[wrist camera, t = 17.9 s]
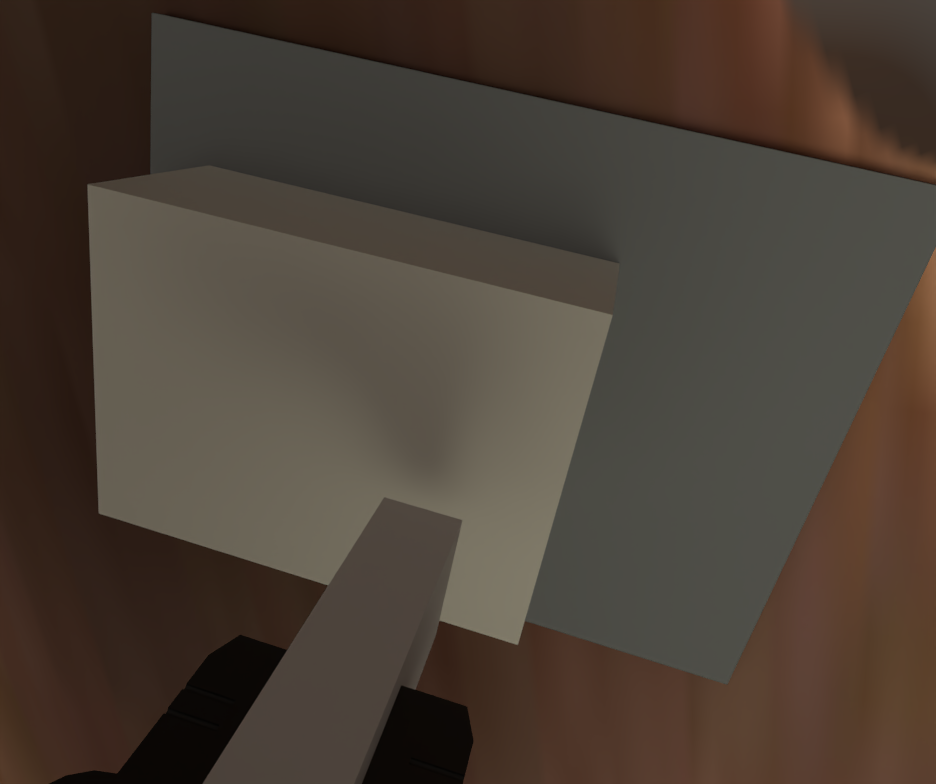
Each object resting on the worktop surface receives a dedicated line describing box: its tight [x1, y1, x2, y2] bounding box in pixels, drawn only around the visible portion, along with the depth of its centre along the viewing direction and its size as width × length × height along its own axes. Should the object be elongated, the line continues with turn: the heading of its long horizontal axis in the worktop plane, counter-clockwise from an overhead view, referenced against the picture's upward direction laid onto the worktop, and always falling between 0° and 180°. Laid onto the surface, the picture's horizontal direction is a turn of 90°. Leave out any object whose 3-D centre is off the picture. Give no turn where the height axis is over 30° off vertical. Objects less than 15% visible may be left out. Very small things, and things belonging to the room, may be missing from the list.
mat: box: [150, 13, 936, 684], centre depth 22 cm, size 21×16×1 cm
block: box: [87, 165, 620, 645], centre depth 19 cm, size 5×9×12 cm
